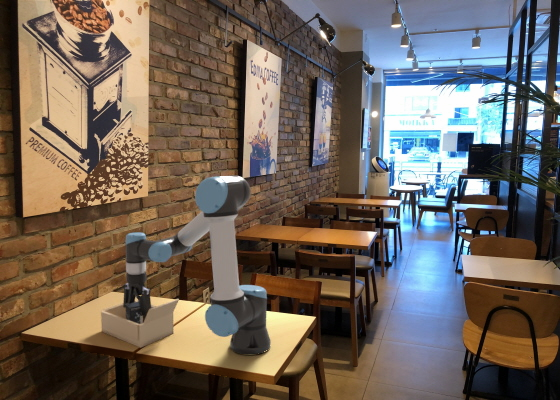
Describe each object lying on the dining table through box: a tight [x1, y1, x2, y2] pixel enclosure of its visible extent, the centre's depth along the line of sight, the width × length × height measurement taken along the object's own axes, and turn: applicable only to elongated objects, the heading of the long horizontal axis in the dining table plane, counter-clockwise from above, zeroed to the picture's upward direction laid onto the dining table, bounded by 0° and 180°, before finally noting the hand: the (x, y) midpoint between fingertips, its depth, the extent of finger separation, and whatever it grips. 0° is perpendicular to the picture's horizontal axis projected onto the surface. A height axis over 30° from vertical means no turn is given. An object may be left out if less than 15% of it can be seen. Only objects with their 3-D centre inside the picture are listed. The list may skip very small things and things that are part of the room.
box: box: [126, 302, 141, 324], centre depth 177 cm, size 8×6×11 cm
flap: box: [144, 298, 180, 324], centre depth 168 cm, size 1×14×7 cm, turn 147°
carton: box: [100, 299, 175, 348], centre depth 177 cm, size 25×17×9 cm
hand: (137, 327), depth 177 cm, fingers open, 7 cm apart
